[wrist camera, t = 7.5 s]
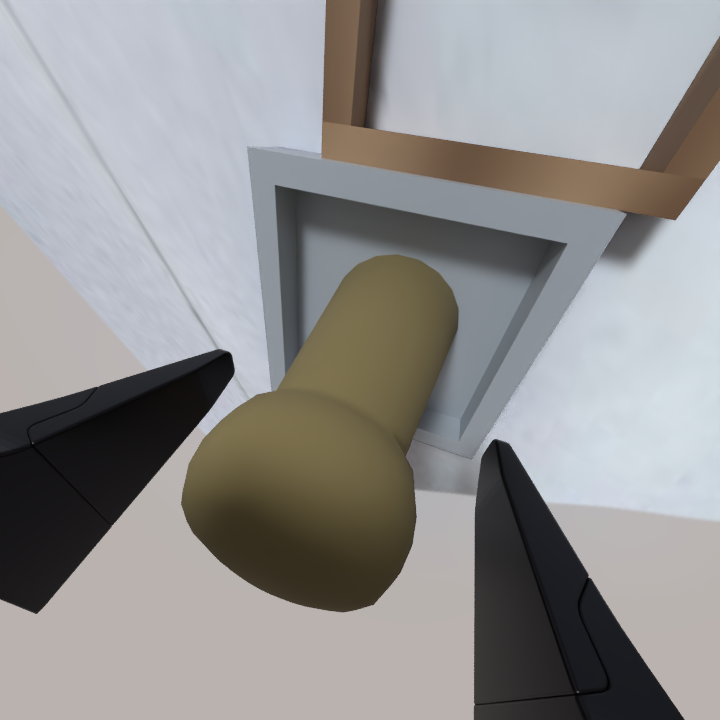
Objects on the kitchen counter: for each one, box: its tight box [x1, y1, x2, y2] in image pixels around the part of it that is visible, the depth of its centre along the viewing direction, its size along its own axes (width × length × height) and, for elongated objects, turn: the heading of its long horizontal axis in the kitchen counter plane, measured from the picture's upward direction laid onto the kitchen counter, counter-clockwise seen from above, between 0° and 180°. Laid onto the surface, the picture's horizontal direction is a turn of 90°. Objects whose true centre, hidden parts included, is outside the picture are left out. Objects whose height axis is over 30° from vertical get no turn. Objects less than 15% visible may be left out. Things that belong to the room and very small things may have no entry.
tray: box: [247, 147, 627, 459], centre depth 14 cm, size 12×12×2 cm
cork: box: [181, 254, 459, 612], centre depth 10 cm, size 6×6×11 cm
